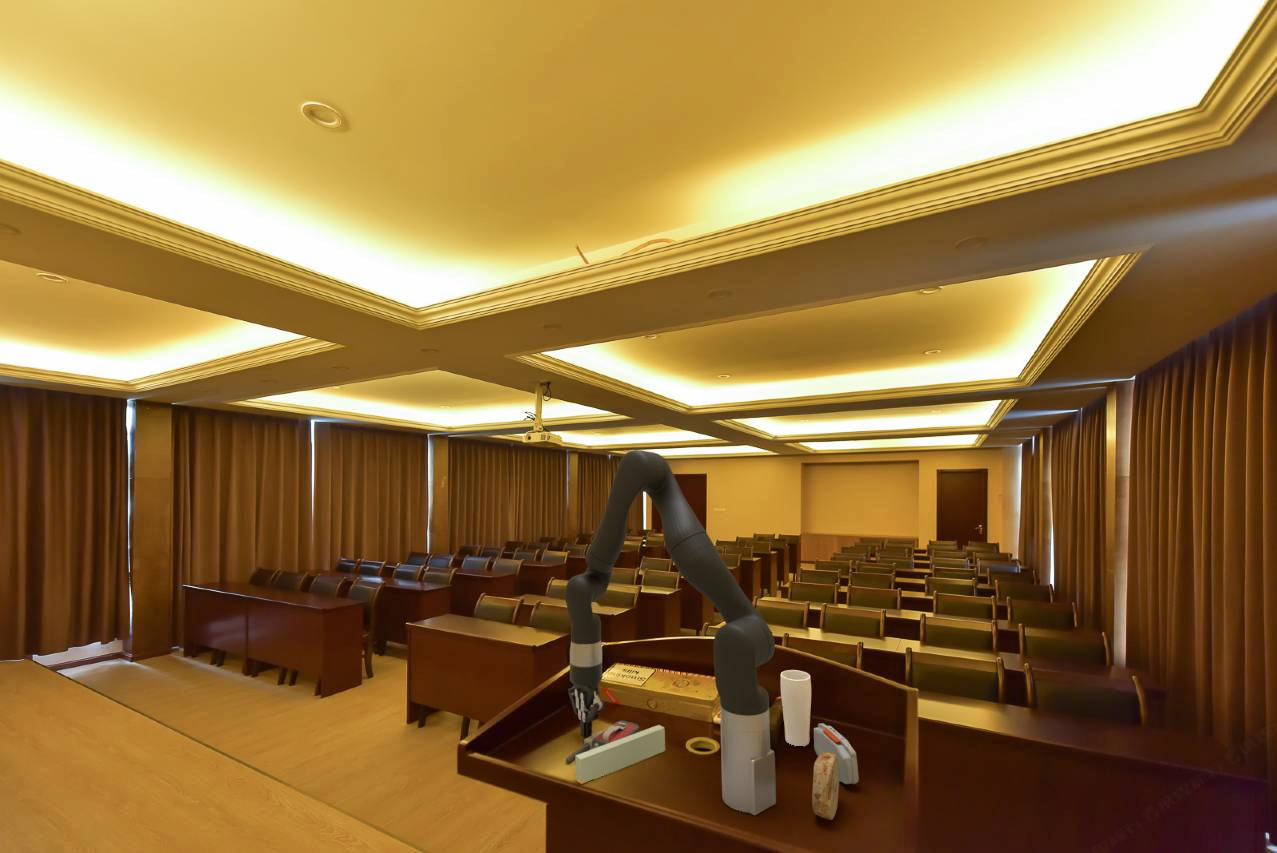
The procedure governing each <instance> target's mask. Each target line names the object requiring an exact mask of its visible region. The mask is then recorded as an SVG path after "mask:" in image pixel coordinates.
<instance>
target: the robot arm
mask: <svg viewBox="0 0 1277 853" xmlns="http://www.w3.org/2000/svg"><path fill="white" fill-rule="evenodd" d="M640 492H643V493H644V492H645V493H646V494H647V496H648V497H649V498H650V499H651V501H652V502H653V505H654V506H655V508H656V509H657V511H658V513H659V515H660V519H661V524H662V535H663V541H664V545H665V548H666V551H667V552H668V555H669V556H670V558H671V560H672V562H673V564H674V566H675V568H677V570H678V573H679V574H680V575H681V576H682V577H683V579H684V580H685V581H686V582H687V583H688V584H690V585H691V586H692V587H693V588H695V590H697V591H698V592H699V593H700V594H702V595H703V596H704V597H705V598H706V599H707V600H709V601H710V602H711V604H713V605H714V607H715V609H717V611H718V612H719V614H720V616H721V618H722V620H724V622H725V624H723V625H721V626H720V627H719V628H718V629H717V631H716V632H715V636H714V639H713V646H712V647H713V666H714V667H713V668H714V680H715V681H714V682H715V686H716V691H717V693H718V695H719V702H720V704H719V705H720V709H719V710H720V712H719V713H720V749H721V750H720V751H721V754H720V755H721V761H720V762H721V791H722V793H721V795H722V797H721V798H722V801H723V803H724V804H726V805H727V806H728V807H730V808H731V809H733V810H736V811H738V810H739V811H738V812H741V811H742V812H741V813H748V814H751V815H753V816H756V815H758V814H760V813H761V812H763V811H765V810H767V809H768V808H771V807H773V806H774V805H776V804H777V793H776V792H777V790H776V757H775V756H776V755H775V751H774V750H773V749H771V737H770V736H771V735H770V732H771V731H770V730H771V729H770V728H771V727H770V698H769V693H768V691H767V690H766V689H765V688H764V687H763V686H761V685H759V684H758V674H757V668H758V667H759V666H761V665H764V664H766V663H768V662H769V661H770V660H771V659H772V657H773V656H774V654H775V649H776V647H775V646H776V644H775V638H774V636H773V633H772V631H771V628H770V627H769V625H768V623H767V622H766V620H765V619H764V618H763V616H762V615H761V613H760V612H759V611H758V610H757V608H755V606H754V604H753V603H752V602H751V601H750V599H749V598H748V596H747V595H746V594H745V593H744V591H743V590H742V588H741V587H740V585H739V583H738V582H737V580H736V578H735V577H734V575H733V573H732V572H731V570H730V569H729V567H728V566H727V565H726V563H725V561H724V560H723V558H722V557H721V555H720V553H719V551H718V549H717V547H716V546H715V544H714V542H713V541H712V539H711V538H710V535H709V534H708V532H707V531H706V529H705V528H704V526H703V525H702V523H701V522H700V520H699V519H698V517H697V515H696V514H695V512H694V510H693V509H692V507H691V506H690V504H689V503H688V501H687V499H686V497H685V496H684V493H683V492H682V490H681V488H680V486H679V483H678V481H677V478H676V477H675V475H674V473H673V470H672V468H671V467H670V465H669V462H668V461H667V460H666V459H665V458H664V457H663V455H661V454H659V453H657V452H652V451H648V450H647V451H646V450H641V449H633V450H629V451H628V452H626V453H625V454H624V455H623V456H622V458H621V459H620V461H619V464H618V466H617V469H616V471H615V475H614V479H613V482H612V487H611V490H610V491H609V495H608V500H607V501H606V502H607V503H606V506H605V510H604V513H603V516H602V518H601V521H600V523H599V527H598V528H597V531H596V532H595V534H594V536H593V538H592V541H591V543H590V545H589V547H588V549H587V551H586V554H585V562H586V565H587V568H586V570H585V572H583V573H581V574H580V573H579V574H577V575H574V576H572V577H571V578H570V579H569V580H568V581H567V583H566V586H565V590H564V591H565V592H564V598H565V603H566V607H567V613H568V616H569V619H570V620H569V621H570V630H571V631H570V647H569V681H570V683H572V684H573V686H572V687H571V688H568V690H567V692H568V696H569V699H570V702H571V705H572V709H573V711H574V712H573V713H574V715H577V716H578V720H580V722H579V726H580V728H579V730H580V732H579V733H580V737H582V738H584V739H586V738H588V737H590V736H591V735H593V721H597V720H598V719H599V717H600V715H601V714H602V712H603V711H604V709H605V707H606V702H605V701H604V700H603V701H601V699H600V697H599V695H600V690H599V684H600V683H601V681H602V680H603V647H602V622H601V621H602V620H601V617H600V615H599V614H598V613H594V612H593V607H592V606H593V605H592V603H595V602H596V601H599V600H601V598H602V597H603V596H604V595H605V593H606V592H607V590H608V588H609V585H610V581H611V577H612V574H613V569H614V565H615V564H616V562H617V560H618V558H619V556H620V553H621V552H622V550H623V547H624V545H625V542H626V538H627V534H628V532H627V531H628V530H627V529H628V518H629V512H630V510H631V507H632V504H633V502H634V501H635V499H636V497H637V496H638V495H639V493H640Z"/></svg>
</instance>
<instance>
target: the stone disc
mask: <svg viewBox="0 0 1277 853" xmlns="http://www.w3.org/2000/svg"><path fill="white" fill-rule="evenodd" d="M812 776H813V777H812V779H813V780H812V781H813V782H812V795H811V797H812V798H811V799H812V800H811V801H812V805H811V806H812V810H813V813H814V814H815V815H817V816H818V817H820V818H822V819H826V820H829V821H831V820H833V819H834V817H835V815H836V813H837V810H838V804H839V803H838V801H839V788H840V782H839V776H838V759H837V756H836V755H835V754H832V753H826V752H825V753H821V754H820V756H819V757H818V756H817V758H816V760H815V761H814V765H813V775H812Z"/></svg>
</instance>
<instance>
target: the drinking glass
mask: <svg viewBox="0 0 1277 853" xmlns="http://www.w3.org/2000/svg"><path fill="white" fill-rule="evenodd" d="M811 680H812V679H811V675H810V674H809V673H808V672H806V671H803V670H802V671H801V670H796V669H790V670H788V669H787V670H784V671H782V672H781V673H780V697H781V705H782V706H781V708H782V707H783V708H782V714H783V722H784V725H783V726H784V737H785V738H784V739H785V742H786V743H787V744H788V743H789V745H790V744H791V745H790V746H792V745H794V746H793V747H796V746H803V747H806V746H808V745H809V743H810V724H811V707H812V706H811V704H812V682H811Z"/></svg>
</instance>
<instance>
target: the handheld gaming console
mask: <svg viewBox="0 0 1277 853" xmlns="http://www.w3.org/2000/svg"><path fill="white" fill-rule="evenodd" d="M813 740H814V741H813V742H814V744H813V747H814V751H815V753H816V755H817V758H818V757H819V756H820V754H821V753H825V752H826V753H832V754H835V755H836V756H837V759H838V776H839V783H840V782H841V783H843V784H845V785H850V784H852V785H854V784H858V783H859V780H860V778H859V768H858V759H857V758H858V757H857V752H856V751H855V750H854V748H853V747H852V746H851V744H850V742H849V741H848V740H847V738H846V737H844V736H843V735H842V734H841V733H839V732H838V731H837V730H836V729H835V728H834V727H832V726H831V725H826V724H825V723H823V722H822V723H818V724H817V727H813Z"/></svg>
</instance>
